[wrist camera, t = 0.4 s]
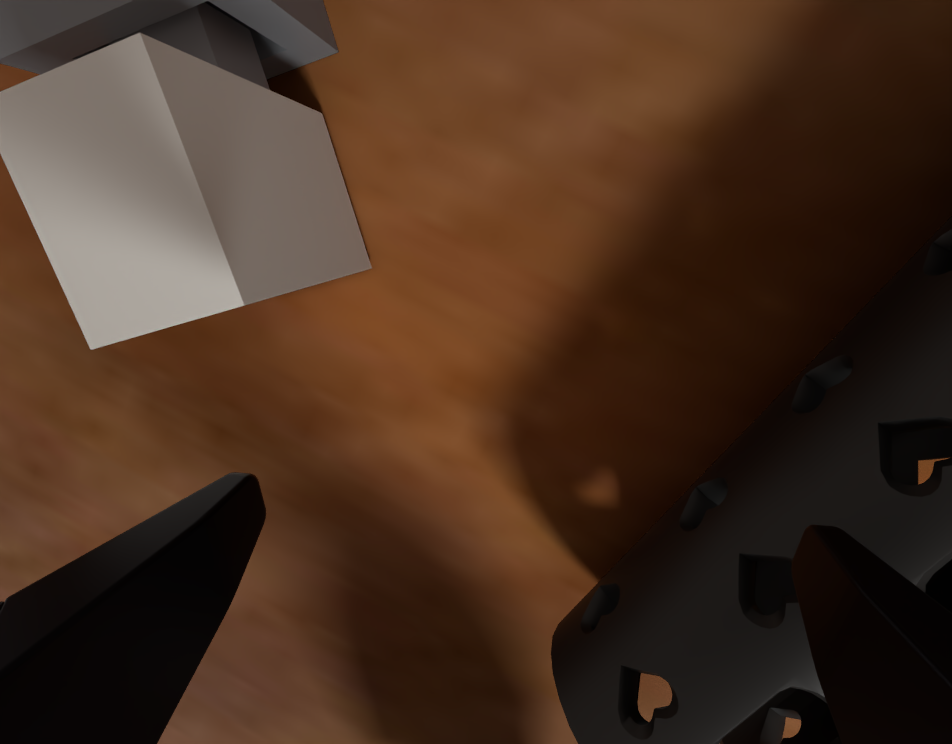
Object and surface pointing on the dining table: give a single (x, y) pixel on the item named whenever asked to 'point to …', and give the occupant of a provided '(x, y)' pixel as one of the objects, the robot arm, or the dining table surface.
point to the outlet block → (144, 3)
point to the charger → (176, 179)
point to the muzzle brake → (777, 537)
